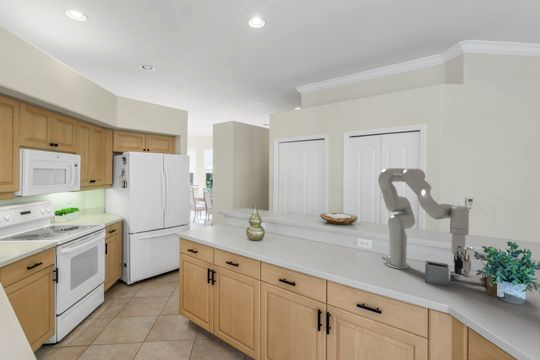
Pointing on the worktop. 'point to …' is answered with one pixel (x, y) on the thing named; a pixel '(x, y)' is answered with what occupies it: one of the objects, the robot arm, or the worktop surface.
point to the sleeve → (437, 273)
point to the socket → (491, 288)
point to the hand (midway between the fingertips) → (458, 265)
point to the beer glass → (468, 260)
